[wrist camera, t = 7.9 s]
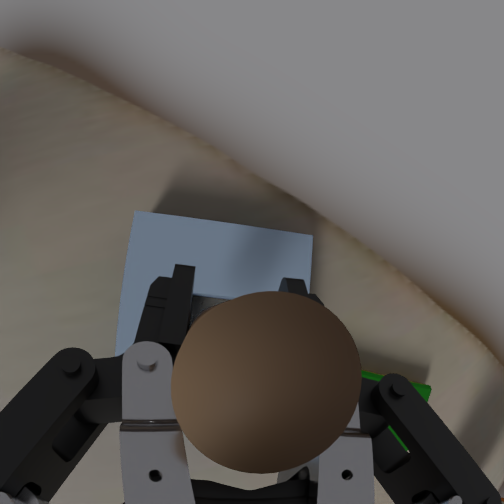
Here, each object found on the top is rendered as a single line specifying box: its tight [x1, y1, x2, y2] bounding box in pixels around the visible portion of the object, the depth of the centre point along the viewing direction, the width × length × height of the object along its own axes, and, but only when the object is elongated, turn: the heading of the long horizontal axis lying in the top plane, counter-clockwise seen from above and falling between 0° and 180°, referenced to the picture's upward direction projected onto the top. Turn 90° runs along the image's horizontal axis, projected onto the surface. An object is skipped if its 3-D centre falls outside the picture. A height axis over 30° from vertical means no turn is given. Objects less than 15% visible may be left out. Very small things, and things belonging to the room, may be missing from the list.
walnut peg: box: [171, 291, 362, 474], centre depth 10 cm, size 3×3×12 cm
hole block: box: [115, 211, 313, 357], centre depth 22 cm, size 13×15×4 cm
